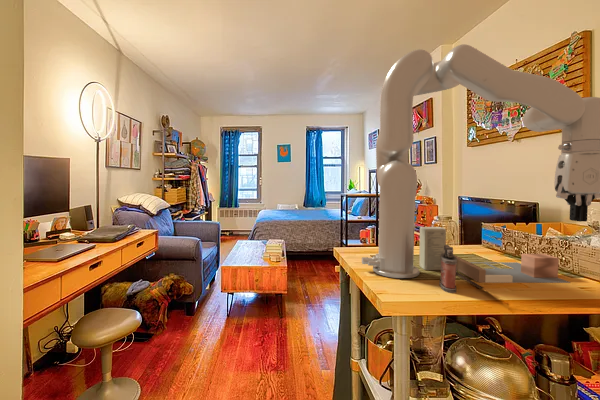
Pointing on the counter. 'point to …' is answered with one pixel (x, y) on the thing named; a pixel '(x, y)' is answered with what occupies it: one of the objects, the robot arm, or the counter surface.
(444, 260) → the lighter
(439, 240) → the skincare box
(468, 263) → the trap deck
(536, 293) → the counter surface
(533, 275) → the block
